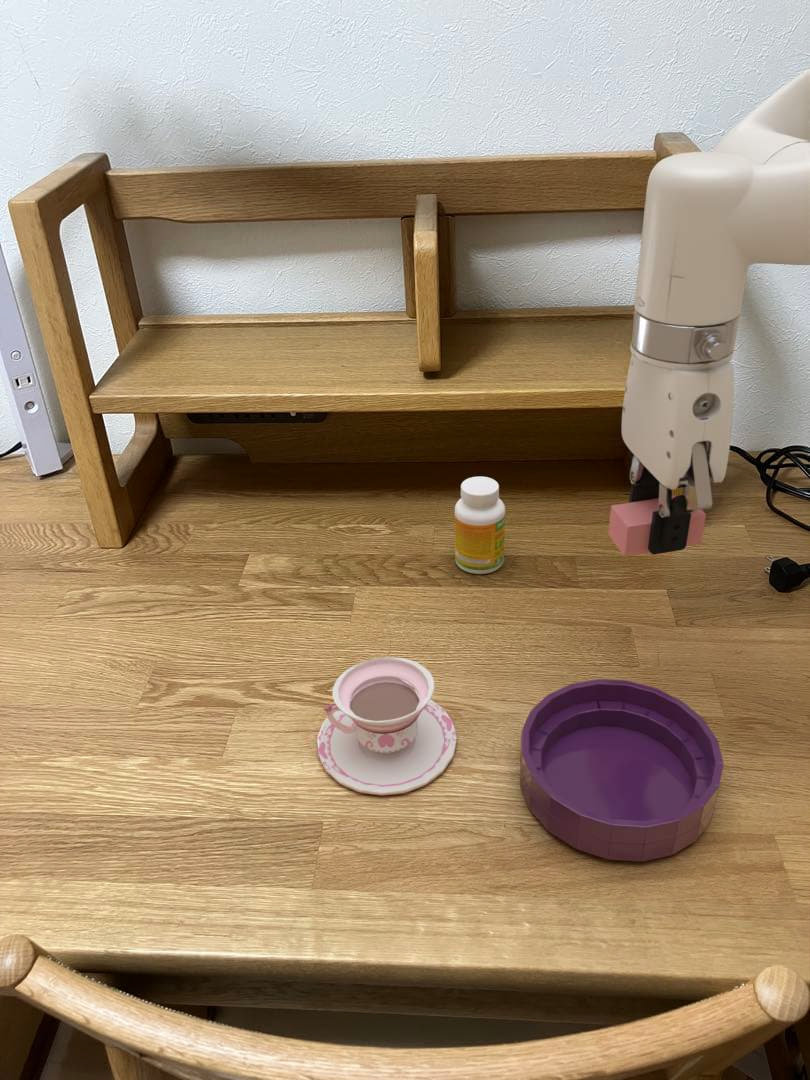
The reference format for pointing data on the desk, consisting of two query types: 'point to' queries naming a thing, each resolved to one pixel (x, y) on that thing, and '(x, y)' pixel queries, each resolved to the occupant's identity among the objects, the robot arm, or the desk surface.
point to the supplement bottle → (479, 526)
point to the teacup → (385, 728)
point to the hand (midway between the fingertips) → (655, 535)
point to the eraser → (644, 526)
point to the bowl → (620, 769)
